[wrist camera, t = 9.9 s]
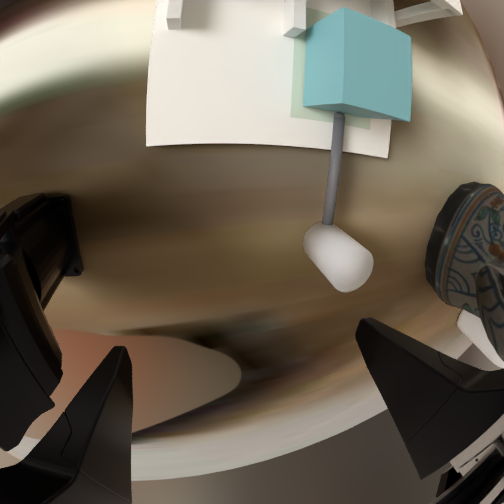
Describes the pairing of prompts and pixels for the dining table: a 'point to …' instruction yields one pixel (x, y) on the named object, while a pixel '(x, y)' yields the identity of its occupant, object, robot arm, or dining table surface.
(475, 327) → the milk bottle
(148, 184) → the dining table surface
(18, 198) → the robot arm
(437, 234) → the beer stein
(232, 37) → the shelf
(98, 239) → the dining table surface
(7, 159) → the dining table surface
